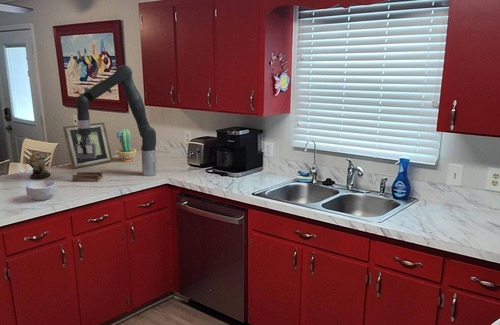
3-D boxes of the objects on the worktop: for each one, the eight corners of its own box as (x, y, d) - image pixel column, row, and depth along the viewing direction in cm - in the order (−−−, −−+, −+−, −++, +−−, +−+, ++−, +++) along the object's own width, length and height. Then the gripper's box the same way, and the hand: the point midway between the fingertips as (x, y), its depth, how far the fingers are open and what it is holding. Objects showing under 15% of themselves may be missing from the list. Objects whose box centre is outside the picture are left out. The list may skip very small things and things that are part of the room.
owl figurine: (47, 179, 268) (44, 154, 264) (27, 181, 265) (24, 155, 261) (52, 172, 285) (49, 148, 281) (33, 174, 282) (30, 149, 278)
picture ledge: (78, 177, 273) (77, 171, 272) (102, 177, 274) (102, 171, 273) (72, 181, 263) (72, 175, 262) (98, 181, 264) (97, 175, 263)
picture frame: (73, 169, 295) (69, 127, 289) (66, 167, 301) (62, 126, 294) (112, 161, 321) (110, 123, 314) (105, 160, 326) (102, 122, 320)
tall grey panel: (77, 157, 266) (76, 143, 265) (96, 157, 267) (95, 143, 265) (75, 158, 263) (74, 144, 261) (94, 158, 264) (94, 144, 262)
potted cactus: (118, 158, 332) (117, 127, 327) (138, 158, 334) (136, 127, 328) (114, 162, 317) (112, 130, 312) (135, 162, 319) (133, 130, 313)
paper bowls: (20, 200, 226) (19, 186, 224) (43, 192, 240) (42, 179, 238) (41, 203, 220) (40, 189, 219) (63, 196, 234) (62, 182, 233)
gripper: (82, 125, 268) (83, 151, 271) (74, 128, 254) (76, 155, 258) (93, 125, 268) (95, 151, 272) (86, 128, 254) (88, 156, 258)
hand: (85, 153), depth 265 cm, fingers closed on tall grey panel, 3 cm apart
